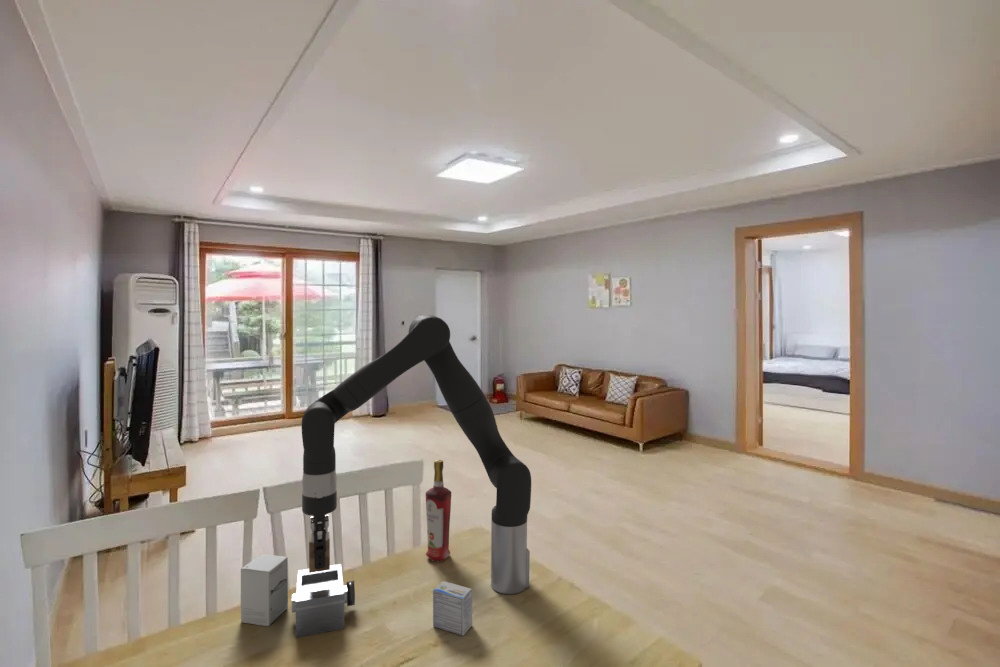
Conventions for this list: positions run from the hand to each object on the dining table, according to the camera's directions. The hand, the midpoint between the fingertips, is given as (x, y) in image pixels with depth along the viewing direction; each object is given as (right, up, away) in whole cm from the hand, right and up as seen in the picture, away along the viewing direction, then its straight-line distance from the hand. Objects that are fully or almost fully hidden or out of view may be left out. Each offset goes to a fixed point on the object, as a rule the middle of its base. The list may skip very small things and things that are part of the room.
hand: (319, 562), depth 117 cm
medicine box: (+31, -13, -3) cm, 34 cm away
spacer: (0, -1, 0) cm, 1 cm away
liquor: (+24, -12, +28) cm, 39 cm away
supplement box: (-13, -13, 0) cm, 18 cm away
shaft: (+1, -11, +1) cm, 11 cm away
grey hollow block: (0, -12, +1) cm, 12 cm away
